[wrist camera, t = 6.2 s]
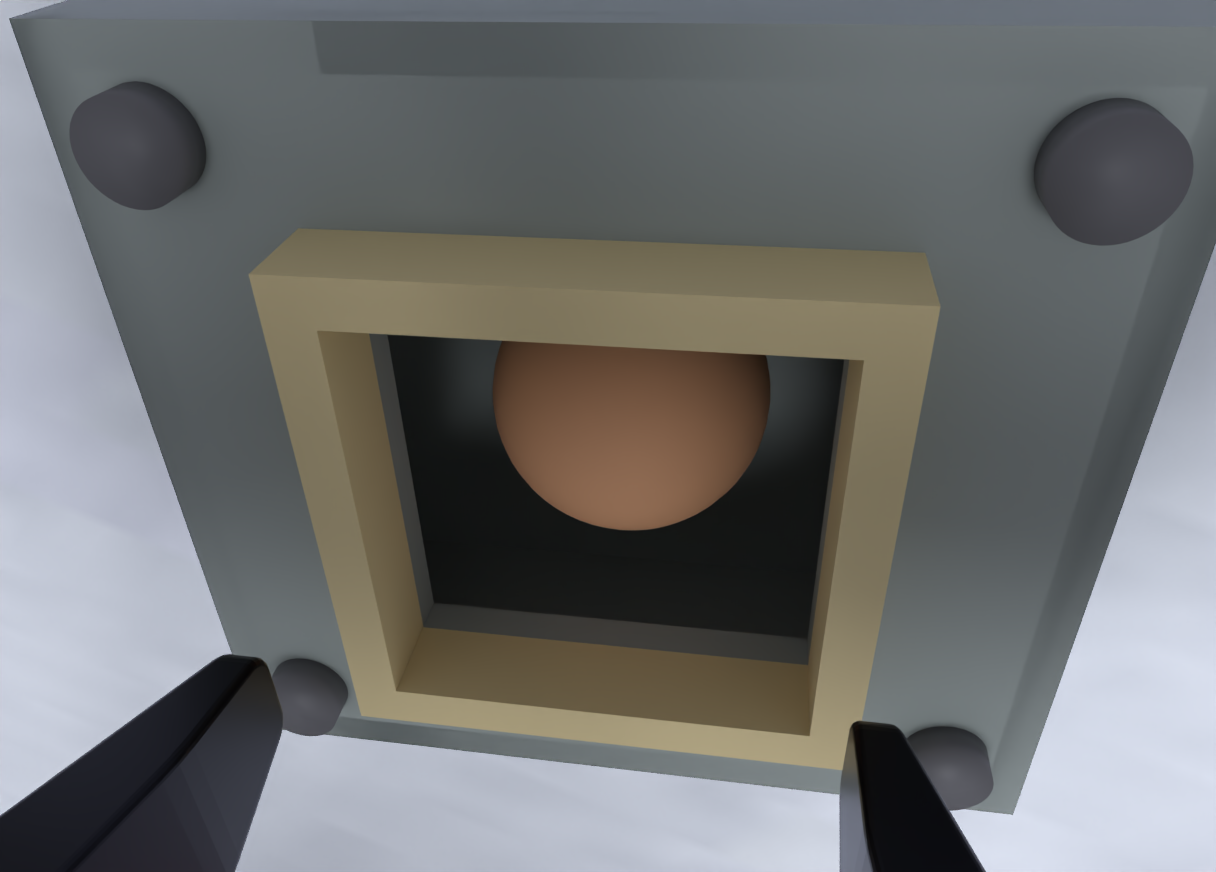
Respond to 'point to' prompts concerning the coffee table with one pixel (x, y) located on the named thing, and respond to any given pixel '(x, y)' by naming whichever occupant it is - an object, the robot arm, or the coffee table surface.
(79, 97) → the grey box with opening
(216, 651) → the coffee table surface
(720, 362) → the bead
